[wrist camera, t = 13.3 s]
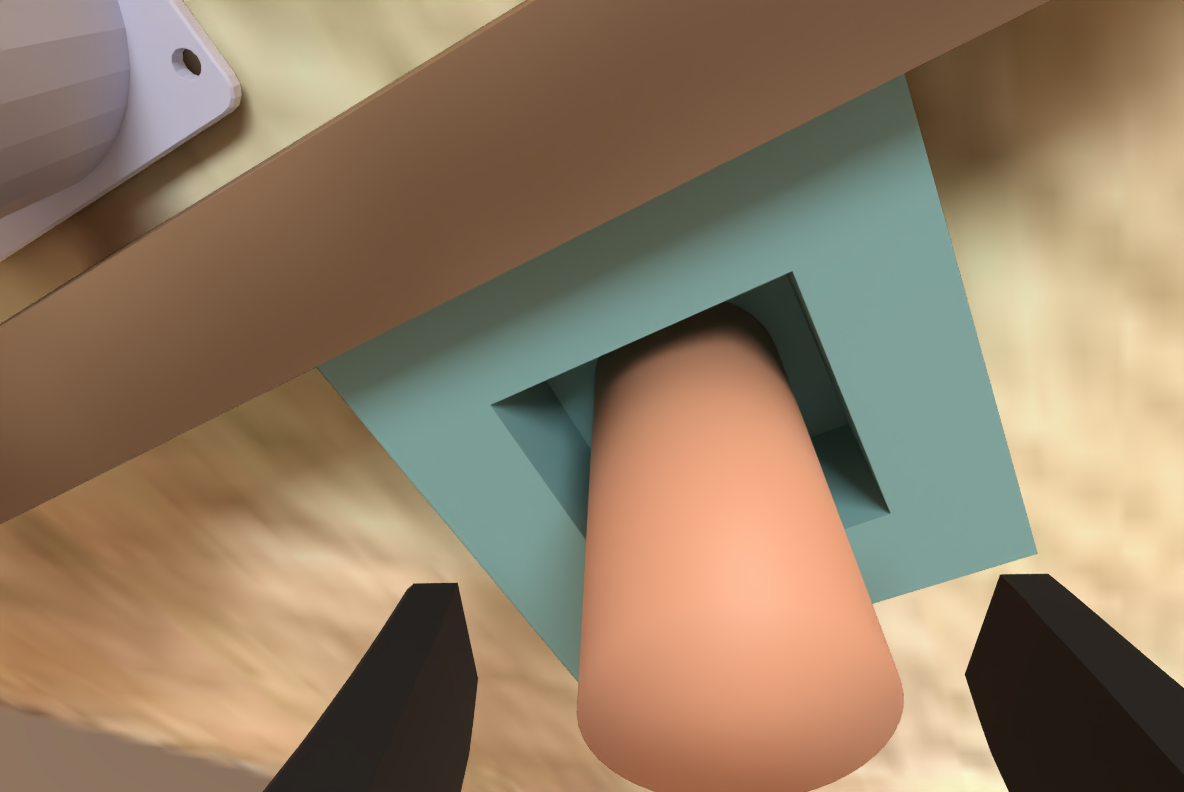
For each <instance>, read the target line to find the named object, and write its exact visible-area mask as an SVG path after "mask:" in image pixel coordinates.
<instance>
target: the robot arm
mask: <svg viewBox="0 0 1184 792" xmlns="http://www.w3.org/2000/svg"><path fill="white" fill-rule="evenodd" d="M185 48H186V49H189V50H191V51H192V52H193V53H194V54H195V55H196V56H197V57H198V59H199V61H200V63H201V73H200V75H199V76H198V75H195V74H193V73H192V72H191V71H189V70H188V69H187V68H186V66H185V63H184V61H183V51H184V50H185ZM241 96H242V93H241V86H240V83H239V81H238V79H237V77H236V75H235V73H234V72H233V70H232V69H231V68H230V66H229V65H228V63H227V62H226V61H225V59H224V58H223V57H222V55H221V54H220V52H219V51H218V50H217V48H216V47H215V45H214V44H213V43H212V41H211V40H210V39H209V37H208V36H207V34H206V33H205V32H204V30H203V29H202V27H201V26H200V25H199V23H198V22H197V21H196V19H195V18H194V16H193V15H192V14H191V12H190V11H189V9H188V8H187V7H186V5H185V4H184V3H183V1H182V0H0V262H2V261H3V260H5V259H6V258H8V257H9V256H11V255H12V254H14V253H15V252H17V251H19V250H20V249H22V248H23V247H25V246H26V245H28V244H29V243H31V242H32V241H34V240H35V239H37V238H39V237H40V236H42V235H43V234H45V233H46V232H48V231H49V230H51V229H52V228H54V227H56V226H57V225H59V224H60V223H62V222H63V221H65V220H66V219H68V218H69V217H71V216H73V215H74V214H76V213H77V212H79V211H80V210H82V209H83V208H85V207H86V206H88V205H90V204H91V203H93V202H94V201H96V200H97V199H99V198H100V197H102V196H103V195H105V194H107V193H108V192H110V191H111V190H113V189H114V188H116V187H117V186H119V185H120V184H122V183H123V182H125V181H127V180H128V179H130V178H131V177H133V176H134V175H136V174H137V173H139V172H140V171H142V170H144V169H145V168H147V167H148V166H150V165H151V164H153V163H154V162H156V161H157V160H159V159H161V158H162V157H164V156H165V155H167V154H168V153H170V152H171V151H173V150H174V149H176V148H178V147H179V146H181V145H182V144H184V143H185V142H187V141H188V140H190V139H191V138H193V137H194V136H196V135H198V134H199V133H201V132H202V131H204V130H205V129H207V128H208V127H210V126H211V125H213V124H215V123H216V122H218V121H219V120H221V119H222V118H224V117H225V116H227V115H228V114H230V113H232V112H233V111H234V110H235V109H236V108H237V107H238V106H239V104H240V100H241ZM965 676H966V679H967V683H968V686H969V689H970V692H971V695H972V698H973V701H974V705H975V708H976V711H977V714H978V717H979V720H980V723H981V726H982V728H983V731H984V734H985V737H986V740H987V743H988V745H989V748H990V751H991V754H992V756H993V758H994V760H995V762H996V765H997V767H998V769H999V771H1000V773H1001V776H1002V778H1003V780H1004V782H1005V784H1006V786H1007V788H1008V791H1009V792H1184V688H1183V687H1182V686H1181V685H1180V684H1178V683H1177V682H1176V681H1175V680H1174V679H1172V678H1171V677H1170V676H1169V675H1168V674H1166V673H1165V672H1164V671H1163V670H1162V669H1160V668H1159V667H1158V666H1157V665H1156V664H1154V663H1153V662H1152V661H1151V660H1150V659H1149V658H1147V657H1146V656H1145V655H1144V654H1143V653H1142V652H1140V651H1139V650H1138V649H1137V648H1136V647H1134V646H1133V645H1132V644H1131V643H1130V642H1129V641H1127V640H1126V639H1125V638H1124V637H1123V636H1122V635H1120V634H1119V633H1118V632H1117V631H1116V630H1115V629H1113V628H1112V627H1111V626H1110V625H1109V624H1107V623H1106V622H1105V621H1104V620H1103V619H1102V618H1100V617H1099V616H1098V615H1097V614H1096V613H1095V612H1093V611H1092V610H1091V609H1090V608H1089V607H1088V606H1086V605H1085V604H1084V603H1083V602H1082V601H1080V600H1079V599H1078V598H1077V597H1076V596H1075V595H1073V594H1072V593H1071V592H1070V591H1069V590H1067V589H1066V588H1065V587H1064V586H1063V585H1061V584H1060V583H1059V582H1058V581H1056V580H1055V579H1054V578H1053V577H1051V576H1050V575H1049V574H1004V575H1000V577H999V579H998V582H997V585H996V588H995V591H994V593H993V596H992V599H991V602H990V605H989V608H988V610H987V613H986V616H985V619H984V622H983V625H982V627H981V630H980V633H979V636H978V639H977V641H976V644H975V647H974V650H973V653H972V656H971V658H970V661H969V664H968V667H967V670H966V672H965ZM477 682H478V677H477V672H476V667H475V663H474V658H473V653H472V648H471V644H470V639H469V634H468V630H467V625H466V620H465V615H464V611H463V606H462V601H461V597H460V592H459V587H458V583H422V584H413V585H412V586H411V587H409V588H408V589H407V591H406V592H405V594H404V595H403V597H402V599H401V600H400V602H399V603H398V605H397V606H396V608H395V610H394V611H393V613H392V614H391V616H390V617H389V619H388V620H387V622H386V624H385V625H384V627H383V628H382V630H381V631H380V633H379V634H378V636H377V637H376V639H375V640H374V642H373V643H372V645H371V646H370V648H369V649H368V651H367V652H366V654H365V655H364V657H363V658H362V659H361V661H360V662H359V664H358V665H357V667H356V668H355V670H354V671H353V673H352V674H351V676H350V677H349V678H348V680H347V681H346V683H345V684H344V685H343V687H342V688H341V689H340V691H339V692H338V694H337V695H336V696H335V698H334V699H333V701H332V702H331V703H330V705H329V706H328V707H327V709H326V710H325V712H324V713H323V714H322V716H321V717H320V719H319V720H318V721H317V723H316V724H315V725H314V727H313V728H312V729H311V731H310V732H309V733H308V735H307V736H306V737H305V739H304V740H303V741H302V743H301V744H300V745H299V747H298V748H297V749H296V750H295V752H294V753H293V754H292V755H291V757H290V758H289V759H288V760H287V762H286V763H285V764H284V766H283V767H282V768H281V769H280V771H279V772H278V773H277V774H276V776H275V777H274V778H273V779H272V781H271V782H270V783H269V784H268V786H267V787H266V788H265V790H264V791H263V792H461V788H462V784H463V779H464V775H465V770H466V766H467V761H468V757H469V750H470V742H471V734H472V727H473V718H474V709H475V700H476V691H477Z"/></svg>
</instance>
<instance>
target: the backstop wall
mask: <svg viewBox="0 0 1184 792" xmlns="http://www.w3.org/2000/svg"><path fill="white" fill-rule="evenodd" d="M1048 1H1050V0H526V1H524V2H522V3H521V4H519V5H517V6H516V7H514V8H512V9H511V10H509V11H508V12H506V13H504V14H503V15H501V16H499V17H498V18H496V19H495V20H493V21H491V22H490V23H488V24H486V25H485V26H483V27H482V28H480V29H478V30H477V31H475V32H473V33H472V34H470V35H468V36H467V37H465V38H464V39H462V40H460V41H459V42H457V43H455V44H454V45H452V46H451V47H449V48H447V49H446V50H444V51H442V52H441V53H439V54H437V55H436V56H434V57H433V58H431V59H429V60H428V61H426V62H424V63H423V64H421V65H420V66H418V67H416V68H415V69H413V70H411V71H410V72H408V73H407V74H405V75H403V76H402V77H400V78H398V79H397V80H395V81H393V82H392V83H390V84H389V85H387V86H385V87H384V88H382V89H380V90H379V91H377V92H376V93H374V94H372V95H371V96H369V97H367V98H366V99H364V100H363V101H361V102H359V103H358V104H356V105H354V106H353V107H351V108H349V109H348V110H346V111H345V112H343V113H341V114H340V115H338V116H336V117H335V118H333V119H332V120H330V121H328V122H327V123H325V124H323V125H322V126H320V127H318V128H317V129H315V130H314V131H312V132H310V133H309V134H307V135H305V136H304V137H302V138H301V139H299V140H297V141H296V142H294V143H292V144H291V145H289V146H288V147H286V148H284V149H283V150H281V151H279V152H278V153H276V154H274V155H273V156H271V157H270V158H268V159H266V160H265V161H263V162H261V163H260V164H258V165H257V166H255V167H253V168H252V169H250V170H248V171H247V172H245V173H244V174H242V175H240V176H239V177H237V178H235V179H234V180H232V181H230V182H229V183H227V184H226V185H224V186H222V187H221V188H219V189H217V190H216V191H214V192H213V193H211V194H209V195H208V196H206V197H204V198H203V199H201V200H199V201H198V202H196V203H195V204H193V205H191V206H190V207H188V208H186V209H185V210H183V211H182V212H180V213H178V214H177V215H175V216H173V217H172V218H170V219H169V220H167V221H165V222H164V223H162V224H160V225H159V226H157V227H155V228H154V229H152V230H151V231H149V232H147V233H146V234H144V235H142V236H141V237H139V238H138V239H136V240H134V241H133V242H131V243H129V244H128V245H126V246H125V247H123V248H121V249H120V250H118V251H116V252H115V253H113V254H111V255H110V256H108V257H107V258H105V259H103V260H102V261H100V262H98V263H97V264H95V265H94V266H92V267H90V268H89V269H87V270H85V271H84V272H82V273H81V274H79V275H77V276H76V277H74V278H73V279H71V280H69V281H68V282H66V283H65V284H63V285H62V286H60V287H58V288H57V289H55V290H54V291H52V292H50V293H49V294H47V295H46V296H44V297H43V298H41V299H39V300H38V301H36V302H35V303H33V304H31V305H30V306H28V307H27V308H25V309H23V310H22V311H20V312H19V313H17V314H16V315H14V316H12V317H11V318H9V319H8V320H6V321H4V322H3V323H1V324H0V524H2V523H4V522H6V521H8V520H10V519H12V518H14V517H16V516H18V515H20V514H22V513H24V512H26V511H28V510H30V509H32V508H34V507H36V506H38V505H40V504H42V503H44V502H46V501H48V500H50V499H52V498H54V497H56V496H58V495H60V494H62V493H64V492H66V491H68V490H70V489H72V488H74V487H76V486H78V485H80V484H82V483H84V482H86V481H88V480H90V479H92V478H94V477H96V476H98V475H100V474H102V473H104V472H106V471H108V470H110V469H112V468H114V467H116V466H118V465H120V464H122V463H124V462H126V461H128V460H130V459H132V458H134V457H136V456H138V455H140V454H142V453H144V452H146V451H148V450H150V449H152V448H154V447H156V446H158V445H160V444H162V443H164V442H166V441H168V440H170V439H172V438H174V437H176V436H178V435H180V434H182V433H184V432H186V431H188V430H190V429H192V428H194V427H196V426H198V425H200V424H202V423H204V422H206V421H208V420H210V419H212V418H214V417H216V416H218V415H220V414H222V413H224V412H226V411H228V410H230V409H232V408H234V407H236V406H238V405H240V404H242V403H244V402H246V401H248V400H250V399H252V398H254V397H256V396H258V395H260V394H262V393H264V392H266V391H268V390H270V389H272V388H274V387H276V386H278V385H280V384H282V383H284V382H286V381H288V380H290V379H292V378H294V377H297V376H299V375H301V374H303V373H305V372H307V371H309V370H311V369H313V368H315V367H317V366H319V365H321V364H323V363H325V362H327V361H329V360H331V359H333V358H335V357H337V356H339V355H341V354H343V353H345V352H347V351H349V350H351V349H353V348H355V347H357V346H359V345H361V344H363V343H365V342H367V341H369V340H371V339H373V338H375V337H377V336H379V335H381V334H383V333H385V332H387V331H389V330H391V329H393V328H395V327H397V326H399V325H401V324H403V323H405V322H407V321H409V320H411V319H413V318H415V317H417V316H419V315H421V314H423V313H425V312H427V311H429V310H431V309H433V308H435V307H437V306H439V305H441V304H443V303H445V302H447V301H449V300H451V299H453V298H455V297H457V296H459V295H461V294H463V293H465V292H467V291H469V290H471V289H473V288H475V287H477V286H479V285H481V284H483V283H485V282H487V281H489V280H491V279H493V278H495V277H497V276H499V275H501V274H503V273H505V272H507V271H509V270H511V269H513V268H515V267H517V266H519V265H521V264H523V263H525V262H527V261H529V260H531V259H533V258H535V257H537V256H539V255H541V254H543V253H545V252H547V251H549V250H551V249H553V248H555V247H557V246H559V245H561V244H563V243H565V242H567V241H569V240H571V239H573V238H575V237H577V236H579V235H581V234H583V233H585V232H587V231H589V230H591V229H593V228H595V227H597V226H599V225H601V224H603V223H605V222H607V221H609V220H611V219H613V218H615V217H617V216H619V215H621V214H623V213H625V212H627V211H629V210H631V209H633V208H635V207H637V206H639V205H641V204H643V203H645V202H647V201H649V200H651V199H653V198H655V197H657V196H659V195H661V194H663V193H665V192H667V191H669V190H671V189H673V188H675V187H677V186H679V185H681V184H683V183H685V182H687V181H689V180H691V179H693V178H695V177H697V176H699V175H701V174H703V173H705V172H707V171H709V170H711V169H713V168H715V167H717V166H719V165H721V164H723V163H725V162H727V161H730V160H732V159H734V158H736V157H738V156H740V155H742V154H744V153H746V152H748V151H750V150H752V149H754V148H756V147H758V146H760V145H762V144H764V143H766V142H768V141H770V140H772V139H774V138H776V137H778V136H780V135H782V134H784V133H786V132H788V131H790V130H792V129H794V128H796V127H798V126H800V125H802V124H804V123H806V122H808V121H810V120H812V119H814V118H816V117H818V116H820V115H822V114H824V113H826V112H828V111H830V110H832V109H834V108H836V107H838V106H840V105H842V104H844V103H846V102H848V101H850V100H852V99H854V98H856V97H858V96H860V95H862V94H864V93H866V92H868V91H870V90H872V89H874V88H876V87H878V86H880V85H882V84H884V83H886V82H888V81H890V80H892V79H894V78H896V77H898V76H900V75H902V74H904V73H906V72H908V71H910V70H912V69H914V68H916V67H918V66H920V65H922V64H924V63H926V62H928V61H930V60H932V59H934V58H936V57H938V56H940V55H942V54H944V53H946V52H948V51H950V50H952V49H954V48H956V47H958V46H960V45H962V44H964V43H966V42H968V41H970V40H972V39H974V38H976V37H978V36H980V35H982V34H984V33H986V32H988V31H990V30H992V29H994V28H996V27H998V26H1000V25H1002V24H1004V23H1006V22H1008V21H1010V20H1012V19H1014V18H1016V17H1018V16H1020V15H1022V14H1024V13H1026V12H1028V11H1030V10H1032V9H1034V8H1036V7H1038V6H1040V5H1042V4H1044V3H1046V2H1048Z"/></svg>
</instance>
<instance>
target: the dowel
mask: <svg viewBox="0 0 1184 792" xmlns="http://www.w3.org/2000/svg"><path fill="white" fill-rule="evenodd" d="M903 700H904V694H903V689H902V684H901V680H900V677H899V675H898V672H897V669H896V666H895V664H894V661H893V658H892V656H891V653H890V650H889V648H888V645H887V642H886V640H885V637H884V634H883V632H882V629H881V626H880V624H879V621H878V618H877V616H876V613H875V610H874V608H873V605H872V602H871V599H870V597H869V594H868V591H867V589H866V586H865V583H864V581H863V578H862V575H861V573H860V570H859V567H858V565H857V562H856V559H855V557H854V554H853V551H852V549H851V546H850V543H849V541H848V538H847V535H846V532H845V530H844V527H843V524H842V522H841V519H840V516H839V514H838V511H837V508H836V506H835V503H834V500H833V498H832V495H831V492H830V490H829V487H828V484H827V482H826V479H825V476H824V474H823V471H822V468H821V465H820V463H819V460H818V457H817V455H816V452H815V449H814V447H813V444H812V441H811V439H810V436H809V433H808V431H807V428H806V425H805V423H804V420H803V417H802V415H801V412H800V409H799V407H798V404H797V401H796V398H795V396H794V393H793V390H792V388H791V385H790V382H789V380H788V377H787V374H786V372H785V369H784V366H783V364H782V361H781V358H780V356H779V353H778V350H777V348H776V345H775V343H774V341H773V339H772V337H771V336H770V334H769V332H768V331H767V329H766V328H765V327H764V326H763V325H762V324H761V322H760V321H758V320H757V319H756V318H755V317H754V316H753V315H752V314H750V313H749V312H747V311H745V310H744V309H742V308H741V307H738V306H736V305H734V304H732V303H730V302H727V301H724V302H721V303H719V304H717V305H715V306H712V307H710V308H708V309H706V310H703V311H701V312H699V313H697V314H694V315H692V316H690V317H688V318H685V319H683V320H681V321H679V322H676V323H674V324H672V325H670V326H667V327H665V328H663V329H661V330H658V331H656V332H654V333H652V334H649V335H647V336H645V337H643V338H640V339H638V340H636V341H633V342H631V343H629V344H627V345H624V346H622V347H620V348H618V349H615V350H613V351H611V352H609V353H606V354H604V355H602V356H600V357H598V360H597V365H596V370H595V386H594V405H593V423H592V442H591V460H590V479H589V497H588V516H587V534H586V553H585V571H584V590H583V608H582V626H581V645H580V663H579V682H578V700H577V718H578V725H579V728H580V731H581V734H582V736H583V739H584V740H585V742H586V744H587V745H588V747H589V749H590V750H591V751H592V752H593V753H594V754H595V756H596V757H597V758H598V759H599V760H600V761H601V762H602V763H604V764H605V765H606V766H607V767H608V768H609V769H611V770H612V771H614V772H615V773H617V774H618V775H620V776H621V777H623V778H625V779H627V780H629V781H631V782H633V783H635V784H637V785H639V786H642V787H644V788H647V789H649V790H652V791H655V792H808V791H811V790H814V789H817V788H820V787H822V786H825V785H827V784H830V783H832V782H835V781H837V780H839V779H841V778H843V777H845V776H847V775H849V774H850V773H852V772H853V771H855V770H856V769H858V768H860V767H861V766H863V765H864V764H865V763H866V762H868V761H869V760H870V759H871V758H873V757H874V756H875V755H876V754H877V753H878V752H879V751H880V750H881V749H882V748H883V747H884V746H885V745H886V744H887V742H888V741H889V739H890V738H891V737H892V735H893V734H894V732H895V730H896V728H897V726H898V724H899V722H900V719H901V715H902V711H903Z"/></svg>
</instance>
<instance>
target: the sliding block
mask: <svg viewBox="0 0 1184 792" xmlns="http://www.w3.org/2000/svg"><path fill="white" fill-rule="evenodd" d="M724 301H727V302H730V303H732V304H734V305H736V306H738V307H741V308H742V309H744V310H745V311H747V312H749V313H750V314H752V315H753V316H754V317H755V318H756V319H757V320H758V321H760V322H761V324H762V325H763V326H764V327H765V328H766V329H767V331H768V332H769V334H770V336H771V337H772V339H773V341H774V343H775V345H776V348H777V350H778V353H779V356H780V358H781V361H782V364H783V366H784V369H785V372H786V374H787V377H788V380H789V382H790V385H791V388H792V390H793V393H794V396H795V398H796V401H797V404H798V407H799V409H800V412H801V415H802V417H803V420H804V423H805V425H806V428H807V431H808V433H809V436H810V439H811V441H812V444H813V447H814V449H815V452H816V455H817V457H818V460H819V463H820V465H821V468H822V471H823V474H824V476H825V479H826V482H827V484H828V487H829V490H830V492H831V495H832V498H833V500H834V503H835V506H836V508H837V511H838V514H839V516H840V519H841V522H842V524H843V527H844V530H845V532H846V535H847V538H848V541H849V543H850V546H851V549H852V551H853V554H854V557H855V559H856V562H857V565H858V567H859V570H860V573H861V575H862V578H863V581H864V583H865V586H866V589H867V591H868V594H869V597H870V599H871V602H872V604H873V603H876V602H880V601H883V600H886V599H890V598H893V597H896V596H900V595H903V594H906V593H909V592H913V591H916V590H919V589H923V588H926V587H929V586H932V585H936V584H939V583H942V582H946V581H949V580H952V579H956V578H959V577H962V576H965V575H969V574H972V573H975V572H979V571H982V570H985V569H989V568H992V567H995V566H998V565H1002V564H1005V563H1008V562H1012V561H1015V560H1018V559H1022V558H1025V557H1028V556H1031V555H1035V554H1038V553H1037V550H1036V546H1035V542H1034V539H1033V535H1032V532H1031V528H1030V524H1029V521H1028V517H1027V513H1026V510H1025V506H1024V503H1023V499H1022V495H1021V492H1020V488H1019V485H1018V481H1017V477H1016V474H1015V470H1014V467H1013V463H1012V459H1011V456H1010V452H1009V449H1008V445H1007V441H1006V438H1005V434H1004V431H1003V427H1002V423H1001V420H1000V416H999V413H998V409H997V405H996V402H995V398H994V394H993V391H992V387H991V384H990V380H989V376H988V373H987V369H986V366H985V362H984V358H983V355H982V351H981V348H980V344H979V340H978V337H977V333H976V330H975V326H974V322H973V319H972V315H971V312H970V308H969V304H968V301H967V297H966V294H965V290H964V286H963V283H962V279H961V275H960V272H959V268H958V265H957V261H956V257H955V254H954V250H953V247H952V243H951V239H950V236H949V232H948V229H947V225H946V221H945V218H944V214H943V211H942V207H941V203H940V200H939V196H938V193H937V189H936V185H935V182H934V178H933V175H932V171H931V167H930V164H929V160H928V156H927V153H926V149H925V146H924V142H923V138H922V135H921V131H920V128H919V124H918V120H917V117H916V113H915V110H914V106H913V102H912V99H911V95H910V92H909V88H908V84H907V81H906V77H905V74H902V75H900V76H898V77H896V78H894V79H892V80H890V81H888V82H886V83H884V84H882V85H880V86H878V87H876V88H874V89H872V90H870V91H868V92H866V93H864V94H862V95H860V96H858V97H856V98H854V99H852V100H850V101H848V102H846V103H844V104H842V105H840V106H838V107H836V108H834V109H832V110H830V111H828V112H826V113H824V114H822V115H820V116H818V117H816V118H814V119H812V120H810V121H808V122H806V123H804V124H802V125H800V126H798V127H796V128H794V129H792V130H790V131H788V132H786V133H784V134H782V135H780V136H778V137H776V138H774V139H772V140H770V141H768V142H766V143H764V144H762V145H760V146H758V147H756V148H754V149H752V150H750V151H748V152H746V153H744V154H742V155H740V156H738V157H736V158H734V159H732V160H730V161H727V162H725V163H723V164H721V165H719V166H717V167H715V168H713V169H711V170H709V171H707V172H705V173H703V174H701V175H699V176H697V177H695V178H693V179H691V180H689V181H687V182H685V183H683V184H681V185H679V186H677V187H675V188H673V189H671V190H669V191H667V192H665V193H663V194H661V195H659V196H657V197H655V198H653V199H651V200H649V201H647V202H645V203H643V204H641V205H639V206H637V207H635V208H633V209H631V210H629V211H627V212H625V213H623V214H621V215H619V216H617V217H615V218H613V219H611V220H609V221H607V222H605V223H603V224H601V225H599V226H597V227H595V228H593V229H591V230H589V231H587V232H585V233H583V234H581V235H579V236H577V237H575V238H573V239H571V240H569V241H567V242H565V243H563V244H561V245H559V246H557V247H555V248H553V249H551V250H549V251H547V252H545V253H543V254H541V255H539V256H537V257H535V258H533V259H531V260H529V261H527V262H525V263H523V264H521V265H519V266H517V267H515V268H513V269H511V270H509V271H507V272H505V273H503V274H501V275H499V276H497V277H495V278H493V279H491V280H489V281H487V282H485V283H483V284H481V285H479V286H477V287H475V288H473V289H471V290H469V291H467V292H465V293H463V294H461V295H459V296H457V297H455V298H453V299H451V300H449V301H447V302H445V303H443V304H441V305H439V306H437V307H435V308H433V309H431V310H429V311H427V312H425V313H423V314H421V315H419V316H417V317H415V318H413V319H411V320H409V321H407V322H405V323H403V324H401V325H399V326H397V327H395V328H393V329H391V330H389V331H387V332H385V333H383V334H381V335H379V336H377V337H375V338H373V339H371V340H369V341H367V342H365V343H363V344H361V345H359V346H357V347H355V348H353V349H351V350H349V351H347V352H345V353H343V354H341V355H339V356H337V357H335V358H333V359H331V360H329V361H327V362H325V363H323V364H321V365H319V366H317V368H318V370H319V371H320V372H321V373H322V374H323V376H324V377H325V378H326V379H327V381H328V382H329V383H330V384H331V385H332V387H333V388H334V389H335V390H336V391H337V393H338V394H339V395H340V396H341V397H342V399H343V400H344V401H345V402H346V403H347V405H348V406H349V407H350V408H351V409H352V411H353V412H354V413H355V414H356V415H357V417H358V418H359V419H360V420H361V421H362V423H363V424H364V425H365V426H366V428H367V429H368V430H369V431H370V432H371V434H372V435H373V436H374V437H375V438H376V440H377V441H378V442H379V443H380V444H381V446H382V447H383V448H384V449H385V450H386V452H387V453H388V454H389V455H390V456H391V458H392V459H393V460H394V461H395V462H396V464H397V465H398V466H399V467H400V468H401V470H402V471H403V472H404V473H405V474H406V476H407V477H408V478H409V479H410V481H411V482H412V483H413V484H414V485H415V487H416V488H417V489H418V490H419V491H420V493H421V494H422V495H423V496H424V497H425V499H426V500H427V501H428V502H429V503H430V505H431V506H432V507H433V508H434V509H435V511H436V512H437V513H438V514H439V515H440V517H441V518H442V519H443V520H444V521H445V523H446V524H447V525H448V526H449V528H450V529H451V530H452V531H453V532H454V534H455V535H456V536H457V537H458V538H459V540H460V541H461V542H462V543H463V544H464V546H465V547H466V548H467V549H468V550H469V552H470V553H471V554H472V555H473V556H474V558H475V559H476V560H477V561H478V562H479V564H480V565H481V566H482V567H483V568H484V570H485V571H486V572H487V573H488V574H489V576H490V577H491V578H492V579H493V581H494V582H495V583H496V584H497V585H498V587H499V588H500V589H501V590H502V591H503V593H504V594H505V595H506V596H507V597H508V599H509V600H510V601H511V602H512V603H513V605H514V606H515V607H516V608H517V609H518V611H519V612H520V613H521V614H522V615H523V617H524V618H525V619H526V620H527V621H528V623H529V624H530V625H531V626H532V627H533V629H534V630H535V631H536V632H537V634H538V635H539V636H540V637H541V638H542V640H543V641H544V642H545V643H546V644H547V646H548V647H549V648H550V649H551V650H552V652H553V653H554V654H555V655H556V656H557V658H558V659H559V660H560V661H561V662H562V664H563V665H564V666H565V667H566V668H567V670H568V671H569V672H570V673H571V674H572V676H573V677H574V678H575V679H576V681H577V682H579V663H580V645H581V626H582V608H583V590H584V571H585V553H586V534H587V516H588V497H589V479H590V460H591V442H592V423H593V405H594V386H595V370H596V365H597V360H598V357H600V356H602V355H604V354H606V353H609V352H611V351H613V350H615V349H618V348H620V347H622V346H624V345H627V344H629V343H631V342H633V341H636V340H638V339H640V338H643V337H645V336H647V335H649V334H652V333H654V332H656V331H658V330H661V329H663V328H665V327H667V326H670V325H672V324H674V323H676V322H679V321H681V320H683V319H685V318H688V317H690V316H692V315H694V314H697V313H699V312H701V311H703V310H706V309H708V308H710V307H712V306H715V305H717V304H719V303H721V302H724Z"/></svg>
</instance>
